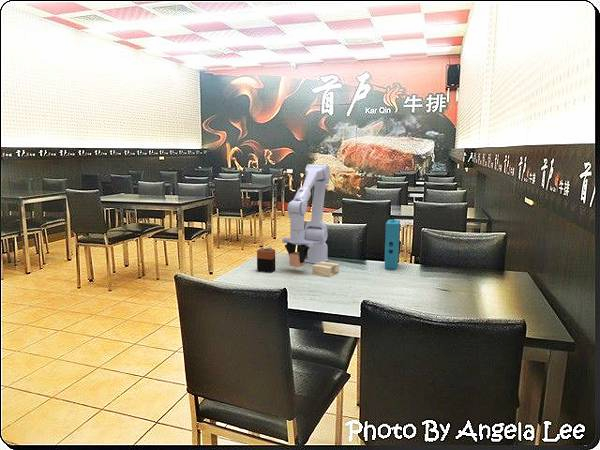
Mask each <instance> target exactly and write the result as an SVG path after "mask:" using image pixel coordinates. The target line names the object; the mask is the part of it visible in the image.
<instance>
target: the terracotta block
mask: <svg viewBox="0 0 600 450" xmlns="http://www.w3.org/2000/svg"><path fill="white" fill-rule="evenodd" d="M305 263H306V262H305V261H304V263H300V255H299V251H295V252H294V253H291V254H290V257H289V266H290V267H296V268H300V267H304V266H306V264H305Z"/></svg>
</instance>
